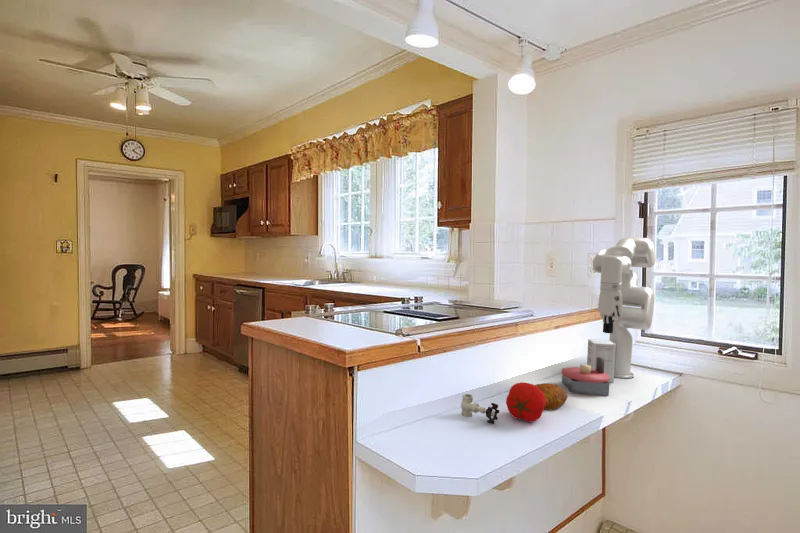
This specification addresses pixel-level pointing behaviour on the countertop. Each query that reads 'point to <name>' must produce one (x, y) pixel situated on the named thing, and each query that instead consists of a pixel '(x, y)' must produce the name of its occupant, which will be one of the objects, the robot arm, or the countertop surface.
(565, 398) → the croissant
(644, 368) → the countertop surface
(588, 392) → the housing
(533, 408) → the tomato
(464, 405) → the valve
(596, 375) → the handwheel
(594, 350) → the supplement box
